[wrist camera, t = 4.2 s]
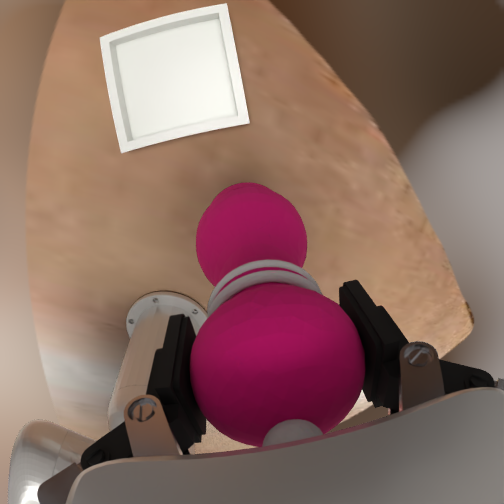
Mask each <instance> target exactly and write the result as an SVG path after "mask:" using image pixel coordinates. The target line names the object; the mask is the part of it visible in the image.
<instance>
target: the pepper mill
mask: <svg viewBox="0 0 504 504" xmlns="http://www.w3.org/2000/svg"><path fill="white" fill-rule="evenodd" d="M196 252H197V257H198V261H199V263H200V266H201V268H202V270H203V272H204V274H205V276H206V277H207V279H208V280H209V281H210V282H211V283H212V284H213V285H214V286H215V288H214V290H213V291H212V294H211V296H210V299H209V302H208V310H207V314H208V315H207V319H206V321H205V322H204V324H203V325H202V326H201V328H200V329H199V332H198V334H197V336H196V339H195V341H194V343H193V346H192V351H191V356H190V382H191V386H192V390H193V394H194V398H195V400H196V402H197V404H198V406H199V408H200V410H201V412H202V413H203V415H204V416H205V417H206V419H207V420H208V421H209V422H210V423H211V424H212V425H213V426H214V427H215V428H216V429H217V430H218V431H219V432H221V433H223V434H224V435H226V436H228V437H229V438H231V439H233V440H235V441H238V442H241V443H244V444H247V445H252V446H257V447H263V446H269V445H275V444H281V443H286V442H291V441H296V440H301V439H306V438H310V437H314V436H319V435H323V434H325V433H327V432H328V431H330V430H331V429H333V428H334V427H335V426H336V425H338V424H339V423H340V422H341V421H342V420H343V419H344V418H345V417H346V416H347V414H348V413H349V412H350V410H351V409H352V408H353V407H354V405H355V403H356V401H357V400H358V398H359V396H360V393H361V390H362V387H363V384H364V378H365V352H364V349H363V345H362V342H361V339H360V336H359V333H358V330H357V328H356V327H355V325H354V323H353V322H352V320H351V319H350V318H349V316H348V315H347V314H346V313H345V311H344V310H343V309H342V308H341V307H340V306H339V305H338V304H337V303H336V302H334V301H332V300H330V299H329V298H327V297H325V296H323V294H322V293H321V291H320V289H319V286H318V284H317V283H316V281H315V280H314V279H313V278H312V277H311V275H310V274H308V273H307V272H306V271H305V270H304V269H302V267H303V264H304V261H305V258H306V252H307V235H306V231H305V228H304V224H303V222H302V219H301V217H300V215H299V214H298V212H297V210H296V209H295V207H294V206H293V205H292V204H291V203H290V202H289V201H288V200H287V199H285V198H284V197H283V196H281V195H279V194H278V193H276V192H273V191H272V190H270V189H269V188H267V187H265V186H263V185H260V184H257V183H239V184H235V185H232V186H230V187H228V188H226V189H224V190H223V191H222V192H220V193H219V194H218V195H217V196H216V197H215V199H214V200H213V202H212V203H211V205H210V206H209V207H208V208H207V210H206V211H205V212H204V214H203V216H202V218H201V220H200V222H199V225H198V228H197V235H196Z"/></svg>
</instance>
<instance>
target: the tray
mask: <svg viewBox="0 0 504 504" xmlns="http://www.w3.org/2000/svg"><path fill="white" fill-rule="evenodd" d="M100 43H101V50H102V57H103V64H104V70H105V76H106V82H107V87H108V93H109V98H110V104H111V109H112V114H113V118H114V123H115V128H116V132H117V137H118V141H119V146H120V150H121V153H124V152H127V151H131V150H134V149H138V148H141V147H145V146H148V145H152V144H156V143H160V142H164V141H168V140H172V139H176V138H180V137H184V136H188V135H193V134H197V133H202V132H206V131H211V130H216V129H221V128H226V127H232V126H237V125H243V124H248V123H250V122H249V117H248V111H247V106H246V100H245V95H244V90H243V84H242V79H241V74H240V68H239V63H238V58H237V53H236V48H235V43H234V37H233V32H232V27H231V22H230V17H229V12H228V7H227V4H220V5H214V6H209V7H204V8H198V9H194V10H189V11H185V12H180V13H176V14H172V15H168V16H164V17H160V18H157V19H153V20H150V21H146V22H143V23H140V24H137V25H134V26H131V27H128V28H125V29H122V30H119V31H116V32H113V33H110V34H108V35H105V36H103V37H100Z"/></svg>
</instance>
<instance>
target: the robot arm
mask: <svg viewBox="0 0 504 504" xmlns="http://www.w3.org/2000/svg"><path fill="white" fill-rule="evenodd" d="M339 301H340V307H341V308H342V309H343V310H344V311H345V313H346V314H347V315H348V316H349V318H350V319H351V320H352V322H353V323H354V325H355V327H356V328H357V330H358V333H359V336H360V339H361V342H362V345H363V349H364V352H365V378H364V384H363V387H362V390H363V392H364V394H365V397H366V399H367V401H368V402H371V401H372V402H373V404H374V407H375V408H376V407H380V406H383V407H386V408H388V416H386V417H383V418H379V419H377V420H373V421H370V422H367V423H364V424H361V425H357V426H353V427H350V428H346V429H342V430H339V431H335V432H331V433H327V434H323V435H319V436H314V437H310V438H306V439H301V440H296V441H291V442H286V443H281V444H275V445H269V446H263V447H256V448H250V449H242V450H234V451H226V452H216V453H205V454H195V443H199V442H201V436H202V435H204V434H206V417H205V416H204V415H203V413H202V412H201V410H200V408H199V406H198V404H197V402H196V400H195V398H194V394H193V390H192V386H191V382H190V356H191V351H192V346H193V343H194V341H195V339H196V336H197V334H198V332H199V329H200V328H201V326H202V325H203V324H204V322H205V321H206V319H207V313H206V311H205V310H204V309H203V308H202V307H201V306H200V305H199V304H198V303H196V302H195V301H194V300H192V299H190V298H188V297H186V296H184V295H181V294H178V293H173V292H163V291H161V292H153V293H150V294H147V295H144V296H143V297H141V298H139V299H138V300H137V301H136V302H135V303H134V304H133V305H132V307H131V308H130V310H129V313H128V315H127V319H126V328H127V332H128V335H129V337H130V342H129V344H128V347H127V350H126V353H125V356H124V359H123V362H122V365H121V368H120V371H119V374H118V377H117V381H116V384H115V387H114V390H113V393H112V397H111V400H110V404H109V407H108V424H109V429H110V432H109V433H107V434H106V435H105V436H103V437H102V438H100V439H99V440H98V441H96V440H94V439H91V438H89V437H86V436H84V435H81V434H79V433H77V432H74V431H72V430H69V429H67V428H65V427H63V426H60V425H58V424H55V423H53V422H50V421H46V420H39V419H38V420H32V421H30V422H28V423H27V424H25V425H24V426H23V428H22V429H21V430H20V432H19V434H18V436H17V438H16V441H15V443H14V446H13V450H12V454H11V460H10V470H9V483H8V504H504V379H500V378H498V380H497V381H494V380H493V378H492V376H491V375H490V374H489V373H487V372H486V371H483V370H481V369H476V368H472V367H468V366H464V365H460V364H456V363H451V362H447V361H443V360H440V359H439V357H438V353H437V351H436V349H435V348H434V347H433V346H432V345H430V344H428V343H425V342H418V341H416V342H411V343H409V342H408V340H407V339H406V338H405V336H404V335H403V333H402V332H401V331H400V329H399V328H398V326H397V325H396V324H395V322H394V321H393V319H392V318H391V317H390V315H389V314H388V313H387V311H386V310H385V308H384V307H383V306H376V305H375V303H374V302H373V301H372V299H371V298H370V296H369V295H368V294H367V292H366V291H365V290H364V288H363V287H362V286H361V284H360V283H359V281H358V280H353V281H348V282H344V283H343V286H342V287H340V288H339Z"/></svg>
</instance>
